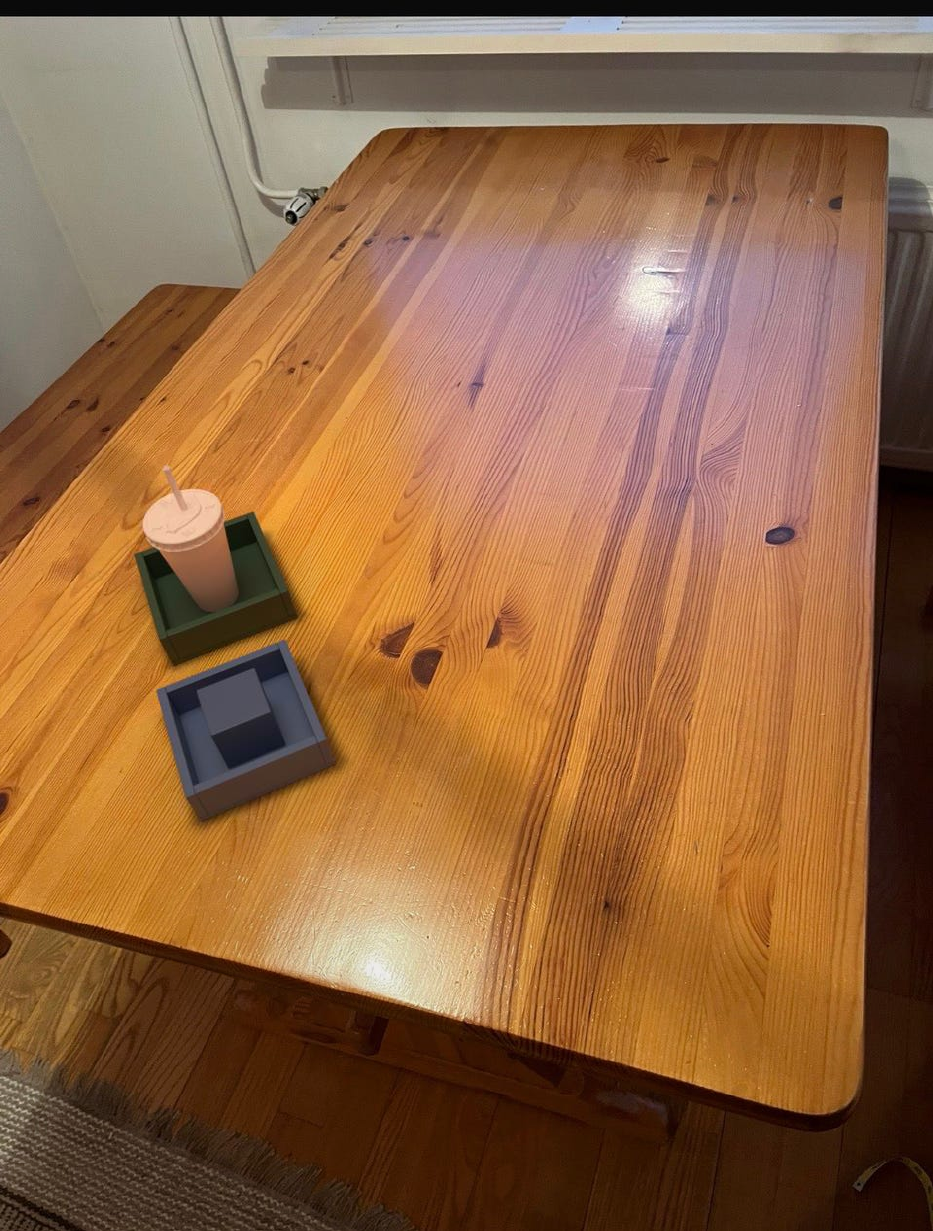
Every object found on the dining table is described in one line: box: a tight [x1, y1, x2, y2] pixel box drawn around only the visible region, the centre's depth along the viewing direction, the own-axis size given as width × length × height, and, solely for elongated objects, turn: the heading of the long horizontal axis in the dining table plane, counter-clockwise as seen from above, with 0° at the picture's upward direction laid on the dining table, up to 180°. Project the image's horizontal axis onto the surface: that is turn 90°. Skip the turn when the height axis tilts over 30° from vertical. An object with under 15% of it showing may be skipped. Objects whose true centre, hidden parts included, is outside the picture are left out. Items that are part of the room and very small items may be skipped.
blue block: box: [197, 668, 285, 768], centre depth 69 cm, size 4×4×4 cm
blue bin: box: [155, 639, 337, 822], centre depth 70 cm, size 10×10×4 cm
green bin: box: [133, 511, 299, 667], centre depth 80 cm, size 11×11×4 cm
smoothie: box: [142, 465, 239, 612], centre depth 75 cm, size 6×6×14 cm
